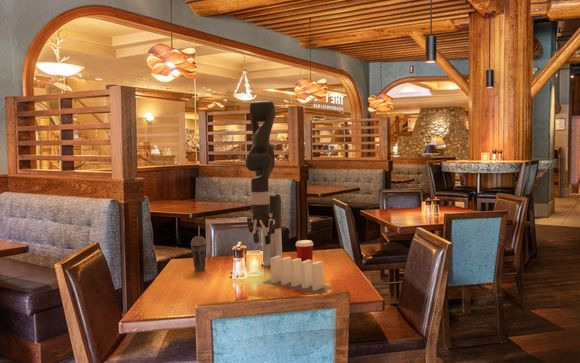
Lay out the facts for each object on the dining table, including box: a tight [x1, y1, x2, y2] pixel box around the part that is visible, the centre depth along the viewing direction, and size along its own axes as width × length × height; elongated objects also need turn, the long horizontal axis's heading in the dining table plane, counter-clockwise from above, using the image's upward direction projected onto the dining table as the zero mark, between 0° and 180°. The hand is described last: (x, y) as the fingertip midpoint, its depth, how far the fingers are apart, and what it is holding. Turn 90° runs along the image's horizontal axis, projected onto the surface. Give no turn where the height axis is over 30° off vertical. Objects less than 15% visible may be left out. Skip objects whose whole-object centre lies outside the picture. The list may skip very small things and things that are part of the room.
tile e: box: [312, 260, 324, 290], centre depth 194 cm, size 2×5×10 cm, turn 143°
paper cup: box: [295, 239, 314, 262], centre depth 218 cm, size 8×8×14 cm
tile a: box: [270, 256, 281, 283], centre depth 206 cm, size 2×5×10 cm, turn 143°
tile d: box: [301, 259, 313, 288], centre depth 197 cm, size 2×5×10 cm, turn 143°
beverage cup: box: [190, 225, 208, 272], centre depth 231 cm, size 7×7×20 cm
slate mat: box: [261, 279, 334, 294], centre depth 200 cm, size 28×10×1 cm, turn 53°
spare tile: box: [290, 257, 302, 287], centre depth 200 cm, size 2×5×10 cm, turn 143°
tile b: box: [280, 256, 292, 285], centre depth 203 cm, size 2×5×10 cm, turn 143°
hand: (262, 243), depth 209 cm, fingers open, 5 cm apart
